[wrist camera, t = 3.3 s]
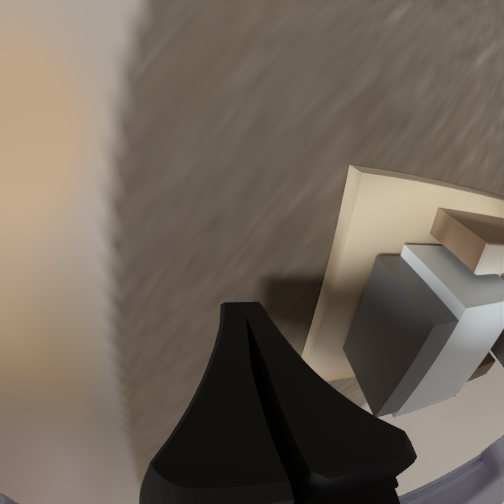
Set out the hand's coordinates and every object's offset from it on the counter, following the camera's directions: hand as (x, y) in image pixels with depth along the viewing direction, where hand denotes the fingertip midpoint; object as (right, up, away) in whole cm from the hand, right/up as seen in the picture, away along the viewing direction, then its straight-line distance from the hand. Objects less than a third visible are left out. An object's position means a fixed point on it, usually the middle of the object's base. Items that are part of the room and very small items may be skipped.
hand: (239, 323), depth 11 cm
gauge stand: (+10, +1, +3) cm, 11 cm away
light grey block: (+8, +1, +1) cm, 8 cm away
